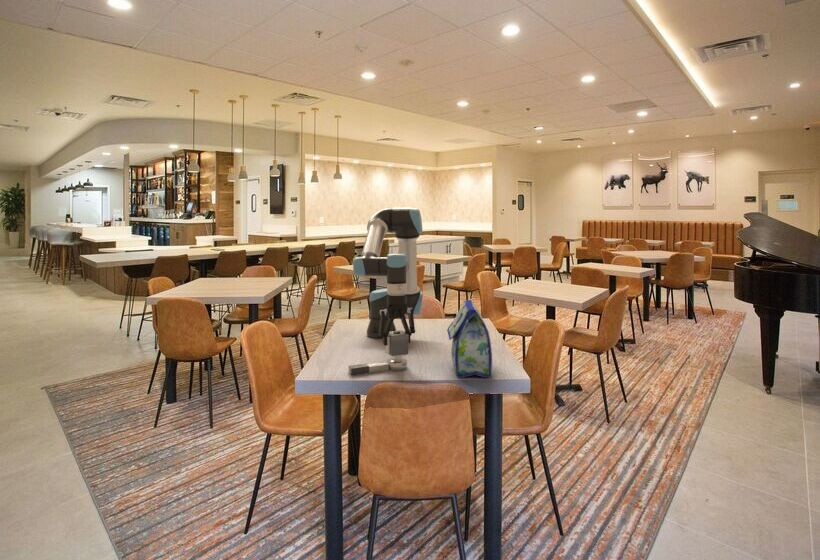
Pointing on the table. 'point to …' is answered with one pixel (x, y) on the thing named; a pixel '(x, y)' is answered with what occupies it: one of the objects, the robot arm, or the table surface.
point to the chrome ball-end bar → (380, 366)
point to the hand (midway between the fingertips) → (396, 352)
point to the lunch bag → (470, 343)
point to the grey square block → (398, 343)
